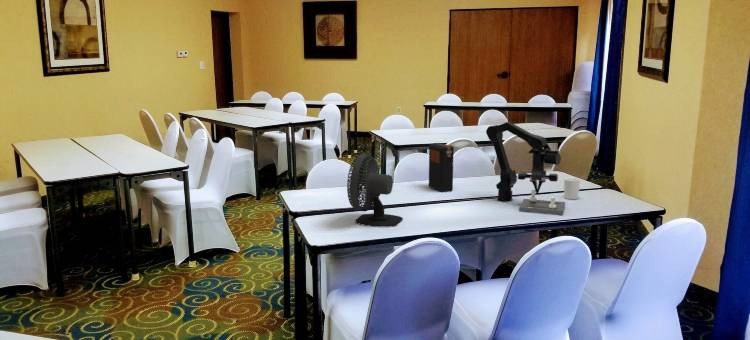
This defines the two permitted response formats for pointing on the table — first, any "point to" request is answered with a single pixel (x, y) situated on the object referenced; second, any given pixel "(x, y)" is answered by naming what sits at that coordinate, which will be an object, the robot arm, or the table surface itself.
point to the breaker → (552, 202)
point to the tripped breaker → (533, 196)
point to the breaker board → (541, 207)
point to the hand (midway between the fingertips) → (537, 193)
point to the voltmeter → (441, 166)
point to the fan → (370, 191)
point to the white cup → (571, 188)
